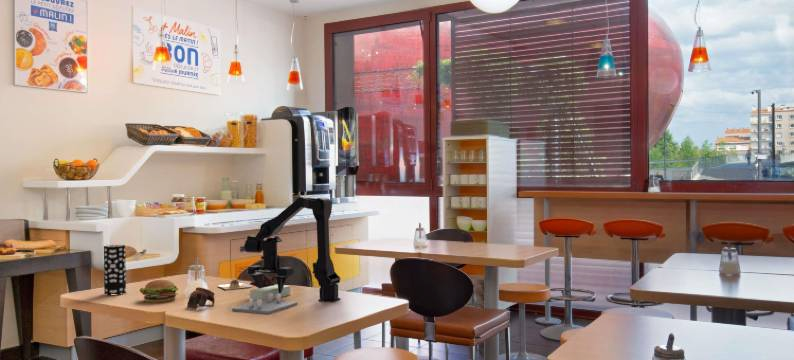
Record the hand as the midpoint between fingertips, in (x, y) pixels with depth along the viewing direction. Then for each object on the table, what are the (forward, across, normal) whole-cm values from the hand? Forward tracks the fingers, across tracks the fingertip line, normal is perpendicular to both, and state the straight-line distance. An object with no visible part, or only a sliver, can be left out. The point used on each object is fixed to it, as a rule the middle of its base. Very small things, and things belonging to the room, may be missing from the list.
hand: (270, 292), depth 267 cm
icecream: (+2, +12, -12) cm, 17 cm away
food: (+2, +38, +21) cm, 44 cm away
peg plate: (+2, -11, +19) cm, 22 cm away
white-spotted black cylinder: (+2, +66, +17) cm, 68 cm away
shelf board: (+2, 0, 0) cm, 2 cm away
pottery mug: (+2, +12, +26) cm, 29 cm away
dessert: (+3, +29, -14) cm, 32 cm away
